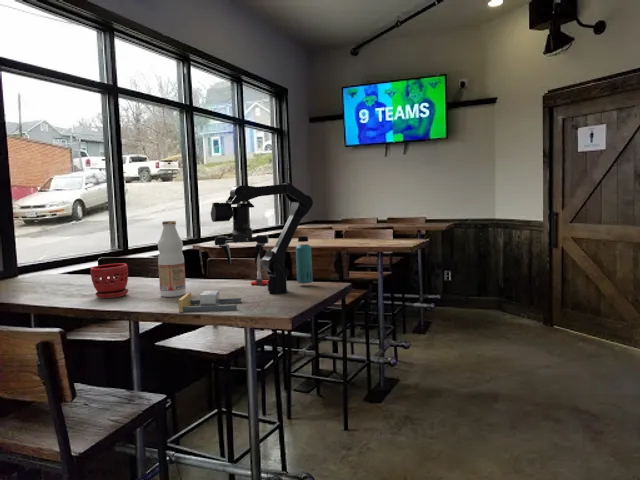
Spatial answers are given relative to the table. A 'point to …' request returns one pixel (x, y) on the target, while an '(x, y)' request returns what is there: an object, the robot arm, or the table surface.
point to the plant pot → (110, 280)
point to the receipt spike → (259, 275)
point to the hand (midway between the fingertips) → (243, 263)
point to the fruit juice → (171, 262)
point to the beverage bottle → (304, 261)
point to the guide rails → (186, 302)
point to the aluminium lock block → (209, 298)
